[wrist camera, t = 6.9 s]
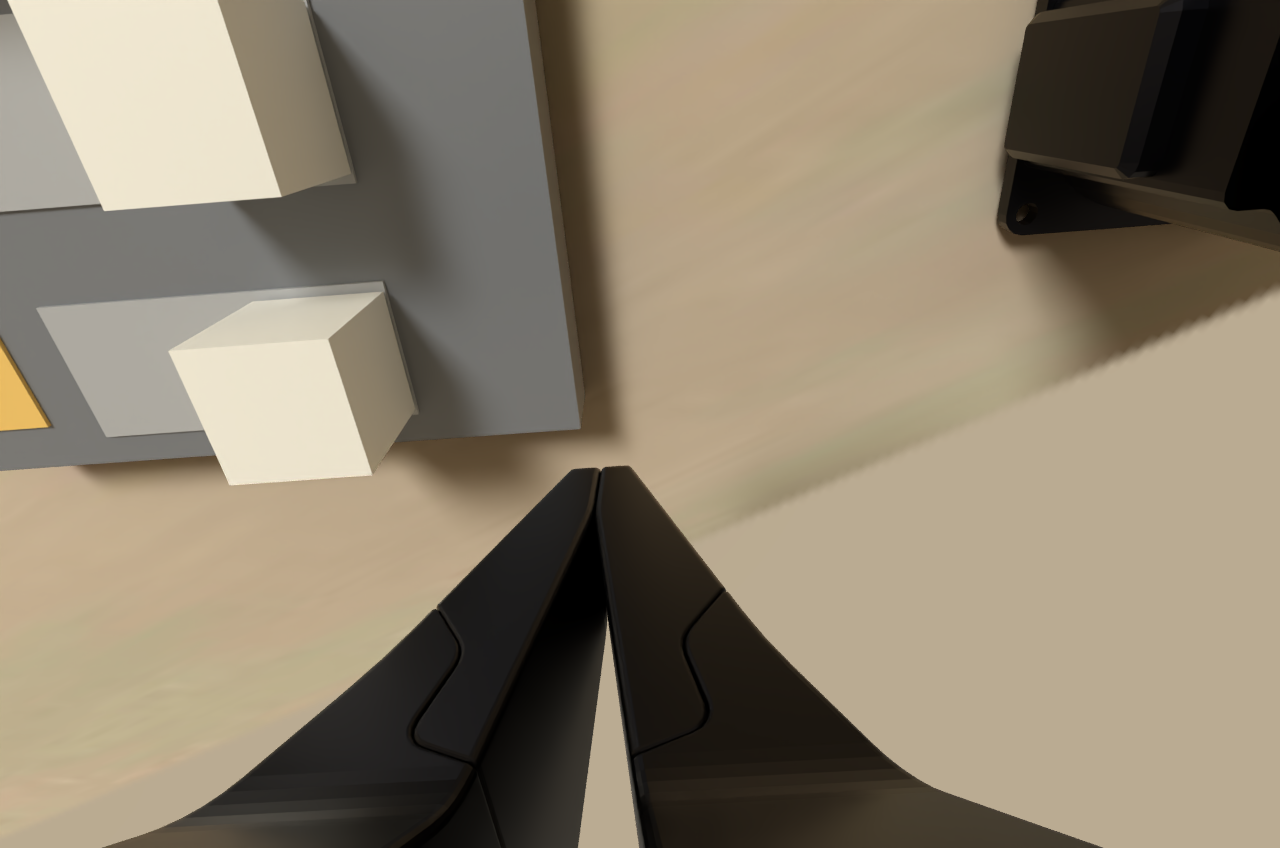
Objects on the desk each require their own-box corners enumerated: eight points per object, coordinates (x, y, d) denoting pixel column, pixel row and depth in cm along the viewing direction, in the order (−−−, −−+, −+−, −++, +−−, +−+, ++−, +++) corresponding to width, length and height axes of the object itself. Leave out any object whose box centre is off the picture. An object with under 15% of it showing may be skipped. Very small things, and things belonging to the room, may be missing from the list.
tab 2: (382, 291, 14) (327, 339, 12) (415, 409, 16) (372, 475, 13) (252, 301, 14) (167, 351, 12) (296, 417, 16) (230, 485, 13)
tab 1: (304, 0, 12) (210, -23, 9) (351, 173, 13) (281, 196, 10) (144, 14, 12) (5, -5, 9) (208, 185, 13) (103, 211, 11)
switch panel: (474, -475, 10) (442, -594, 9) (585, 394, 18) (580, 431, 16) (-457, -381, 11) (-683, -477, 9) (36, 435, 18) (-29, 474, 17)
